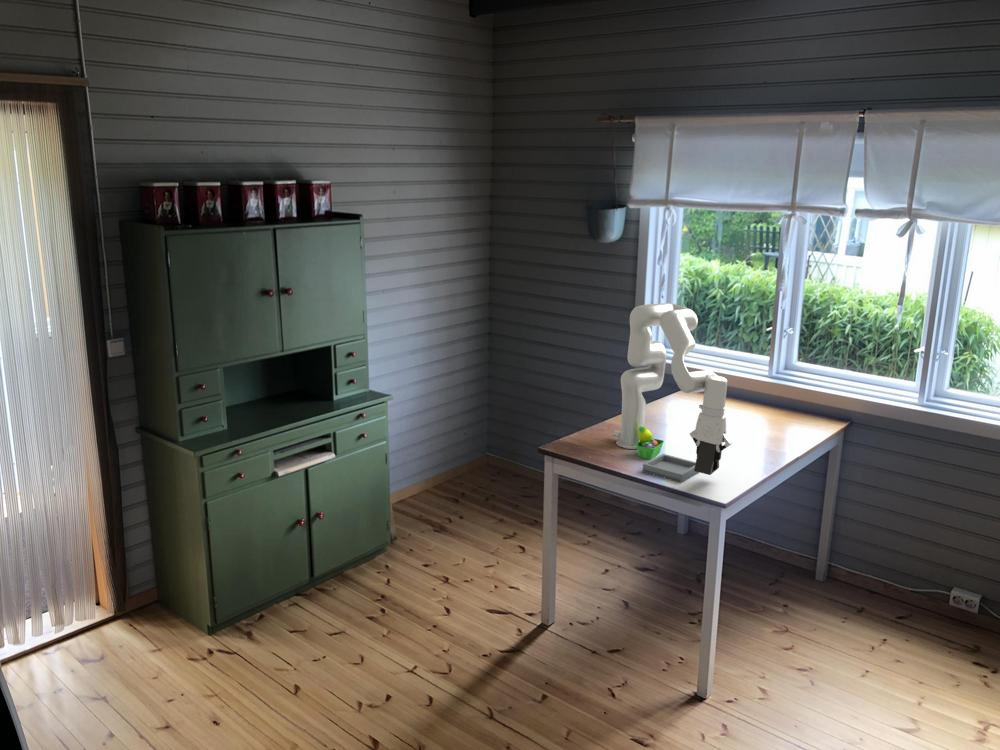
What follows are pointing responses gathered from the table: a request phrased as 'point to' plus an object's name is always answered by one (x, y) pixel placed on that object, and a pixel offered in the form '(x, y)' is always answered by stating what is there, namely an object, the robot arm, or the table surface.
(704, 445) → the phone stand
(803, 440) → the table surface
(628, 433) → the robot arm
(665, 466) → the tray
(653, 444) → the fruit basket
